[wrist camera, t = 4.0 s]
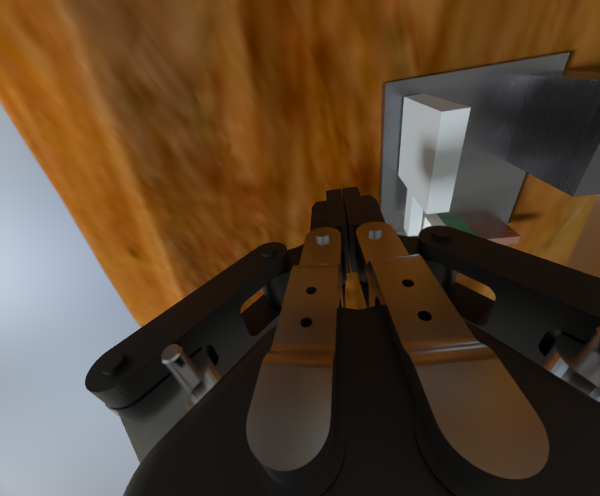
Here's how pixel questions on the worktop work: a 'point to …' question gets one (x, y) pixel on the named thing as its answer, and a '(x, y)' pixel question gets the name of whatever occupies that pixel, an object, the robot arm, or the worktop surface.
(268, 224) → the worktop surface
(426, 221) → the bar
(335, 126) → the worktop surface
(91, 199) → the worktop surface
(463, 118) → the block
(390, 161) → the stand
